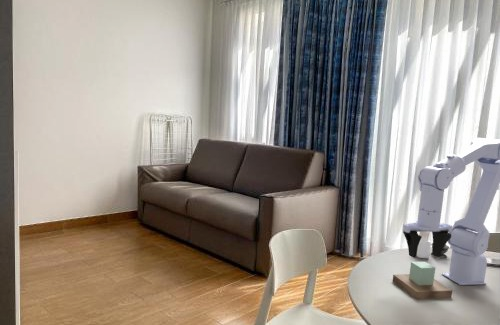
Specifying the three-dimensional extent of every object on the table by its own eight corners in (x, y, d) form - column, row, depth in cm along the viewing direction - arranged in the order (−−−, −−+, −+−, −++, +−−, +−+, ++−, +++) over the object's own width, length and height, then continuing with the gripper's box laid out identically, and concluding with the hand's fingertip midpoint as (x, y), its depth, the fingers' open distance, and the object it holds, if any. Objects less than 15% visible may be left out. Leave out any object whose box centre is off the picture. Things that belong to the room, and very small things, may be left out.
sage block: (422, 278, 113) (424, 261, 112) (433, 284, 108) (435, 267, 108) (409, 278, 112) (411, 261, 111) (419, 285, 107) (421, 268, 107)
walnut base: (425, 280, 116) (425, 273, 116) (451, 297, 106) (452, 290, 106) (392, 281, 114) (393, 274, 114) (416, 299, 103) (417, 291, 103)
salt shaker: (450, 259, 136) (454, 226, 135) (432, 256, 138) (436, 224, 136) (445, 253, 142) (449, 222, 141) (428, 251, 143) (432, 220, 142)
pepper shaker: (429, 259, 135) (433, 232, 134) (418, 258, 135) (421, 232, 134) (424, 255, 139) (427, 229, 138) (413, 254, 139) (416, 228, 138)
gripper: (442, 206, 113) (436, 250, 115) (398, 205, 110) (393, 251, 112) (460, 212, 106) (453, 259, 108) (414, 212, 103) (408, 260, 105)
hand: (424, 256), depth 109 cm, fingers open, 7 cm apart
